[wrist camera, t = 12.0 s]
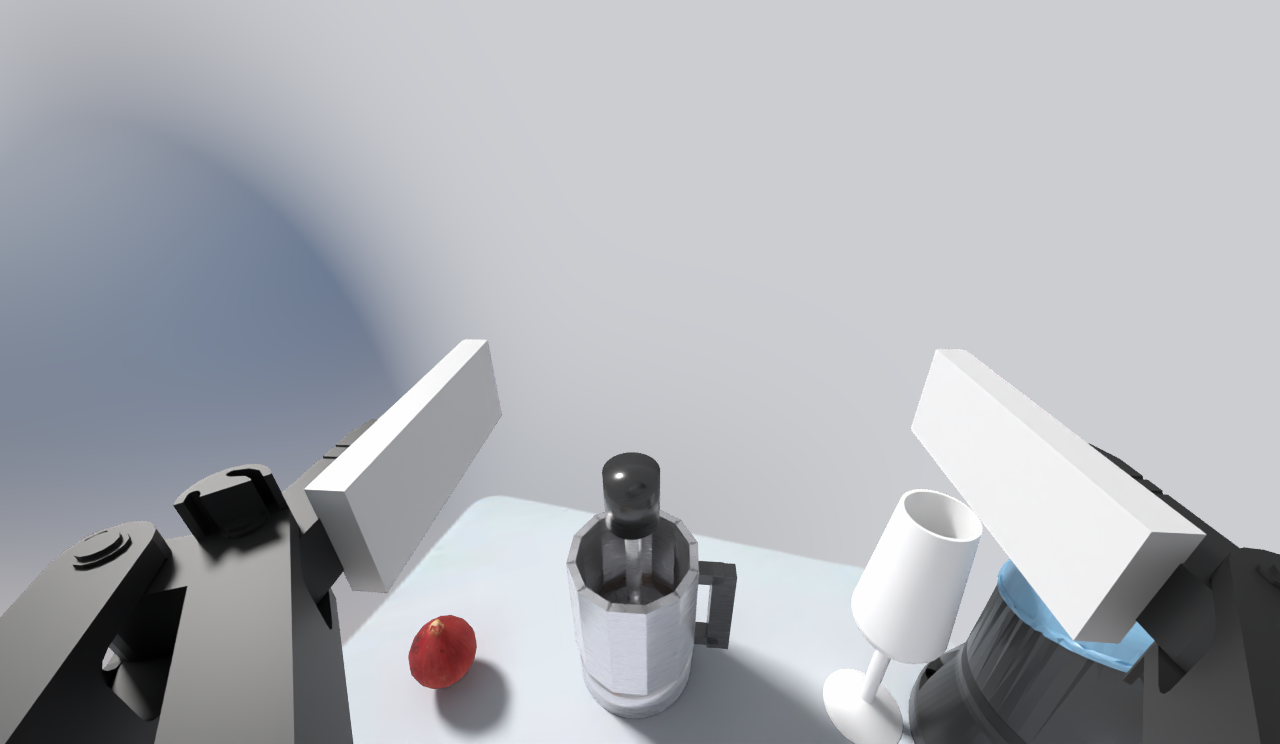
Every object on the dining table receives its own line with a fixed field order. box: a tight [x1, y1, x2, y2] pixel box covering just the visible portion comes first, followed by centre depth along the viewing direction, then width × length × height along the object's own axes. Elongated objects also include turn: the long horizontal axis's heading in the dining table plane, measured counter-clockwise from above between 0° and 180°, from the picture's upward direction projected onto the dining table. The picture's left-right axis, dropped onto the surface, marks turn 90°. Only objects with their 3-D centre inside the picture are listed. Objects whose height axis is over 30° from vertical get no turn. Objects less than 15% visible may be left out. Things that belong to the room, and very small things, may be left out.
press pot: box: [566, 510, 737, 718], centre depth 42 cm, size 14×11×15 cm
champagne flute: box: [823, 489, 982, 744], centre depth 36 cm, size 7×7×24 cm
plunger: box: [602, 453, 664, 605], centre depth 39 cm, size 8×8×19 cm
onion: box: [408, 615, 477, 689], centre depth 42 cm, size 6×6×8 cm
